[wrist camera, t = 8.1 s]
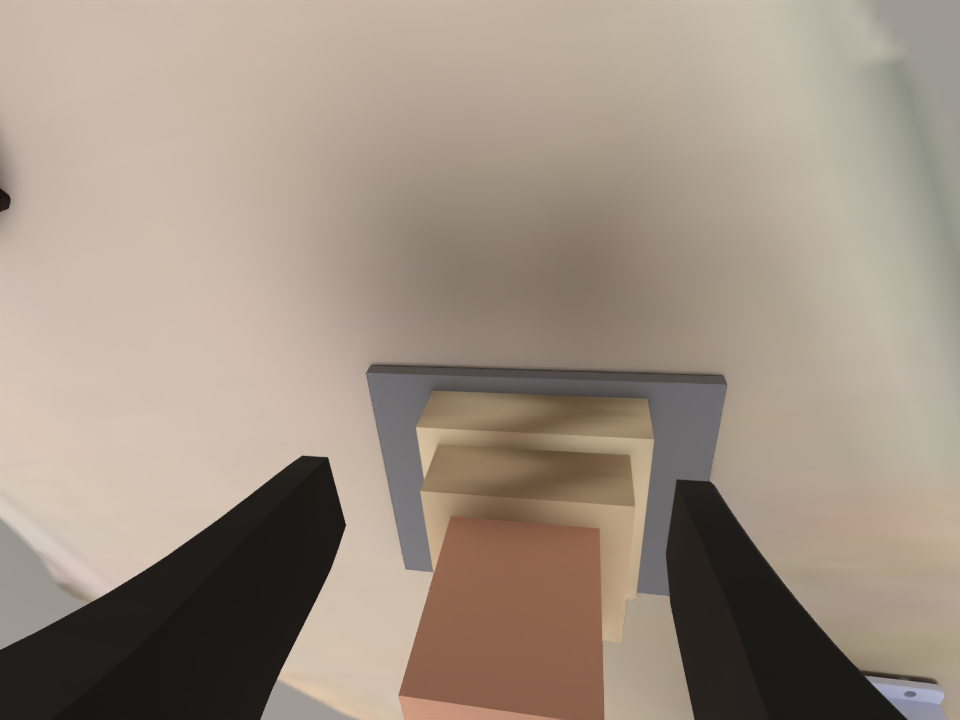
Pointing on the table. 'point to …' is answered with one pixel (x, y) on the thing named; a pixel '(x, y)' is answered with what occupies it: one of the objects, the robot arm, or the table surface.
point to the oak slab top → (540, 503)
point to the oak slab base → (547, 435)
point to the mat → (671, 398)
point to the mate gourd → (4, 201)
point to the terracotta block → (510, 626)
